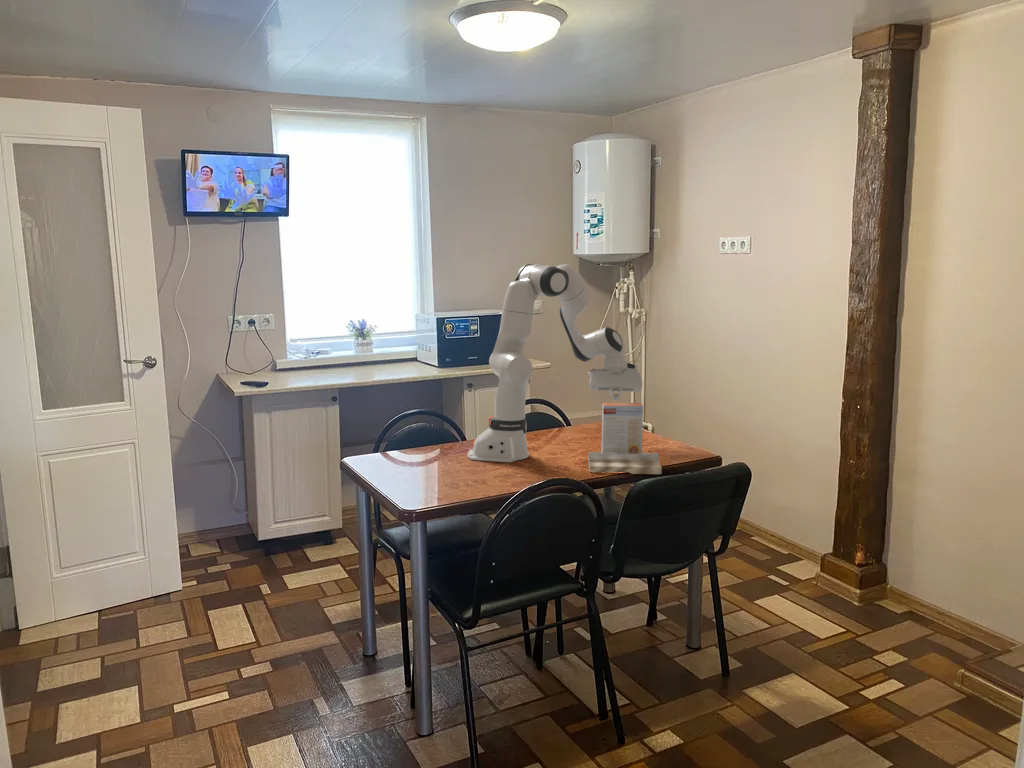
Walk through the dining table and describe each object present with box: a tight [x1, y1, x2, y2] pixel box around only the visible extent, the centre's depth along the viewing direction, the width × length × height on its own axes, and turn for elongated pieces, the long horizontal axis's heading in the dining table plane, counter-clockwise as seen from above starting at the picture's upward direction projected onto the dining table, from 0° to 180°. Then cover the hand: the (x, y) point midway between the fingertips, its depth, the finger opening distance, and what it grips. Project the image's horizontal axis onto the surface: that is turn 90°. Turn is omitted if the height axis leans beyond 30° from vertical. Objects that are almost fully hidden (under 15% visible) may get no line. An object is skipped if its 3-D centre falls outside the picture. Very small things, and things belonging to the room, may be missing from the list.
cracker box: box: [600, 402, 644, 453], centre depth 276 cm, size 14×6×21 cm, turn 89°
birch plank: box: [588, 460, 663, 475], centre depth 265 cm, size 24×7×2 cm, turn 88°
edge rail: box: [588, 451, 660, 463], centre depth 270 cm, size 24×2×5 cm, turn 88°
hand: (616, 398), depth 294 cm, fingers closed
